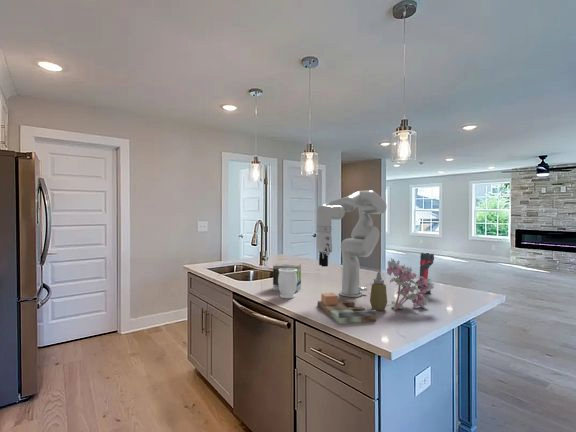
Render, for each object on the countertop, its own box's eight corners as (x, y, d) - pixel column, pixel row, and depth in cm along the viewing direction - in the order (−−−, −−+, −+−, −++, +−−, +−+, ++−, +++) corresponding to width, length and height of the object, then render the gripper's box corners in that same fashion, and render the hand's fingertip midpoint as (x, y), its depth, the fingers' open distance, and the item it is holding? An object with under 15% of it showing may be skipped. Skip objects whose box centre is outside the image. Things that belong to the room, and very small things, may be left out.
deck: (349, 303, 164) (349, 295, 164) (376, 321, 139) (376, 310, 139) (317, 306, 159) (317, 297, 159) (339, 324, 134) (339, 313, 134)
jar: (295, 299, 170) (295, 271, 170) (275, 298, 172) (276, 270, 172) (298, 294, 180) (298, 268, 180) (280, 293, 182) (280, 267, 182)
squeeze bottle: (374, 305, 162) (374, 269, 161) (389, 309, 156) (390, 271, 156) (366, 309, 155) (367, 271, 155) (382, 312, 150) (383, 274, 150)
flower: (430, 316, 140) (438, 262, 149) (377, 304, 150) (388, 254, 159) (430, 323, 157) (437, 274, 165) (382, 312, 167) (391, 266, 175)
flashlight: (436, 294, 187) (437, 254, 186) (423, 294, 185) (424, 254, 185) (428, 290, 194) (429, 252, 194) (416, 291, 193) (417, 252, 193)
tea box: (301, 288, 196) (301, 264, 195) (297, 292, 186) (297, 266, 186) (277, 286, 199) (277, 262, 199) (272, 290, 190) (272, 265, 189)
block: (332, 300, 160) (332, 292, 160) (337, 304, 155) (337, 295, 155) (321, 301, 159) (321, 293, 159) (325, 304, 153) (325, 296, 153)
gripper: (337, 230, 158) (336, 268, 158) (324, 228, 173) (324, 263, 173) (322, 230, 156) (322, 268, 156) (311, 228, 171) (311, 263, 172)
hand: (323, 265), depth 165 cm, fingers open, 2 cm apart
